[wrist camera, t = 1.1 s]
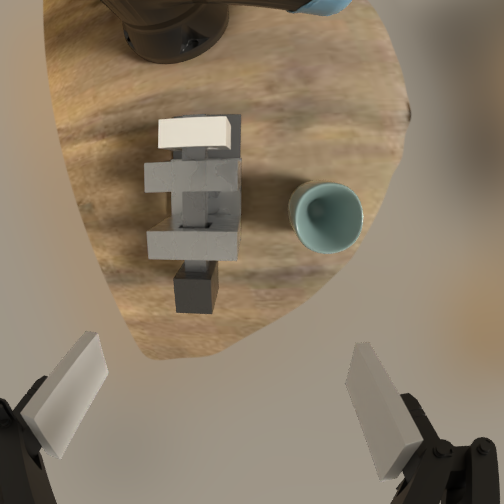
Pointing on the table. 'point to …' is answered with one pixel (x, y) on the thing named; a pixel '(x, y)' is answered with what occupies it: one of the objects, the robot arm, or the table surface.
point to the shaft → (196, 271)
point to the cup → (325, 216)
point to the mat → (235, 140)
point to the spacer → (195, 133)
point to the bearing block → (219, 209)
